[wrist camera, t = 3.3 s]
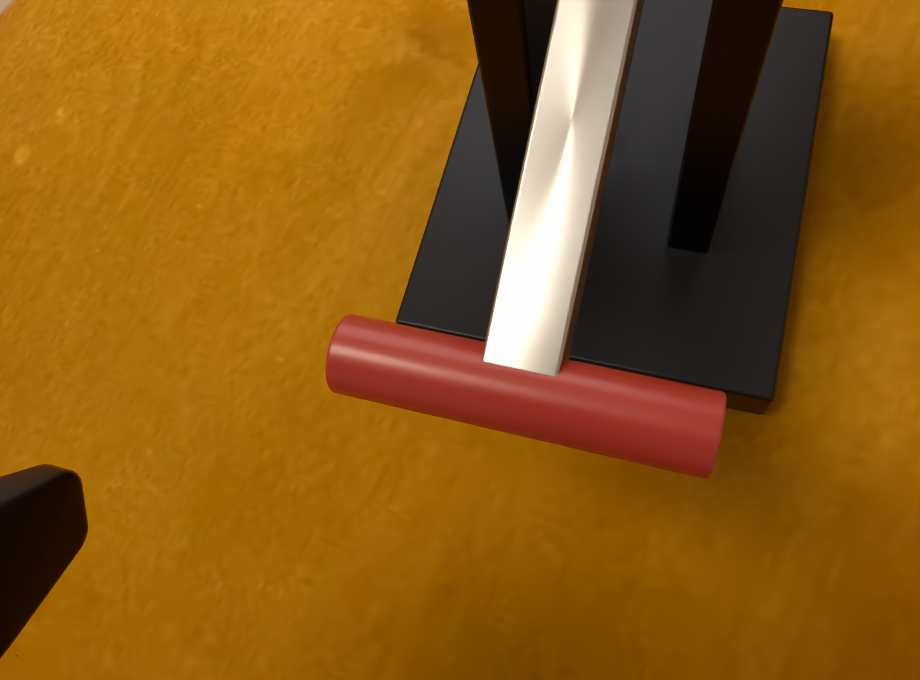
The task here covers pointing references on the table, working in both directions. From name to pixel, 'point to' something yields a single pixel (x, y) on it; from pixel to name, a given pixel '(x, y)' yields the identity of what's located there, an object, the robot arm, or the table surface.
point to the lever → (546, 290)
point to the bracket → (648, 190)
